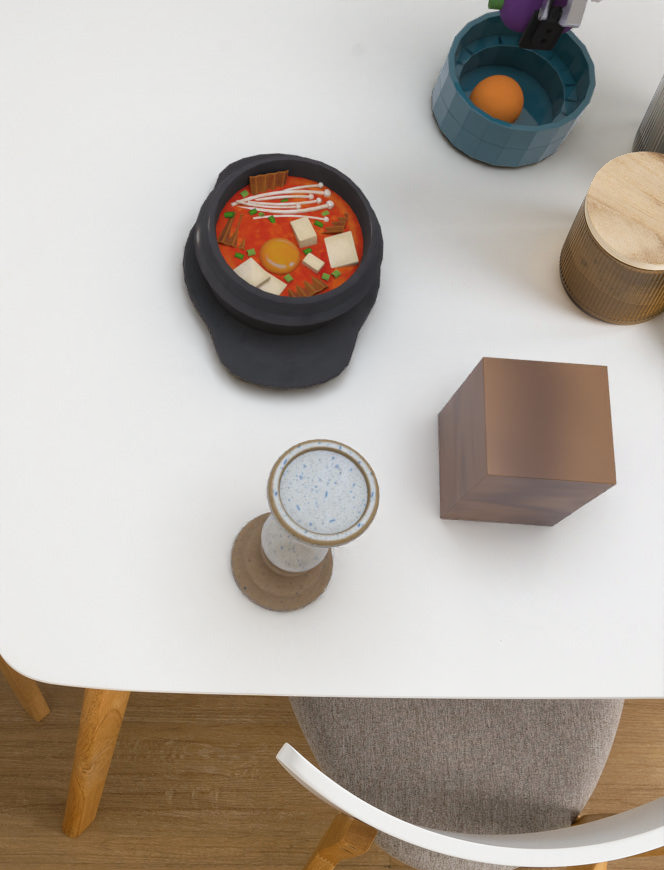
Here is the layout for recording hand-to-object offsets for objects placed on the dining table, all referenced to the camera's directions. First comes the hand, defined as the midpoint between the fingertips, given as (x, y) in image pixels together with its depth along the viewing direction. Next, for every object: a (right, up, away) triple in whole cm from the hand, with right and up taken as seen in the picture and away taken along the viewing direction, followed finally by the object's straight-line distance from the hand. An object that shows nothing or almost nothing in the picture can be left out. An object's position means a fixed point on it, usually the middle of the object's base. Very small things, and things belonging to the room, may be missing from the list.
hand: (534, 22), depth 90 cm
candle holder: (-24, -50, -6) cm, 56 cm away
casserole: (-24, -23, +2) cm, 33 cm away
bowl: (0, -5, +9) cm, 10 cm away
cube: (-5, -42, -3) cm, 42 cm away
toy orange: (0, -6, +7) cm, 9 cm away
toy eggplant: (0, 0, 0) cm, 0 cm away
